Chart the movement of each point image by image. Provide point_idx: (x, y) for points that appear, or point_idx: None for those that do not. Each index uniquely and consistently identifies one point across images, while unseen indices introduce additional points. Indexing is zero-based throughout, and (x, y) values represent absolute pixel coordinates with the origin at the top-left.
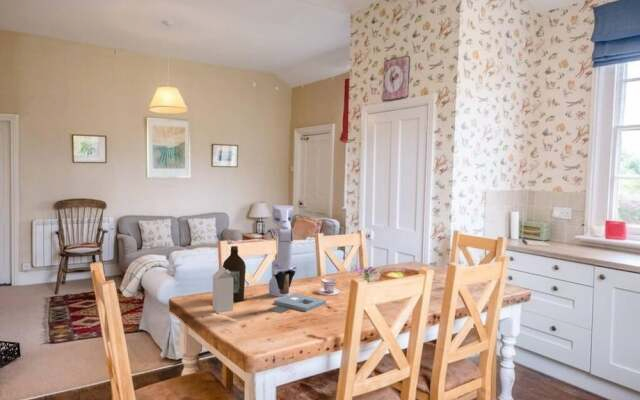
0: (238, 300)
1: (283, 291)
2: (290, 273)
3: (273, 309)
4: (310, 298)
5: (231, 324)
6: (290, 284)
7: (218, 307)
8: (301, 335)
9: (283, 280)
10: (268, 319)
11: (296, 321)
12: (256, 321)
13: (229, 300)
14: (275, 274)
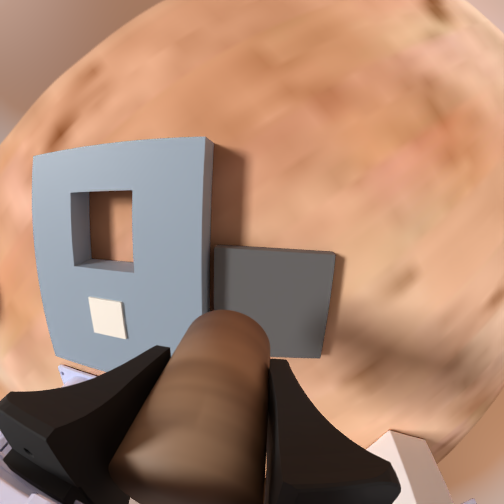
0: (265, 482)
1: (264, 344)
2: (83, 450)
3: (296, 331)
4: (49, 244)
5: (495, 340)
6: (142, 354)
7: (429, 454)
8: (459, 39)
9: (301, 421)
10: (412, 267)
11: (358, 118)
12: (452, 294)
13: (412, 466)
14: (468, 501)
